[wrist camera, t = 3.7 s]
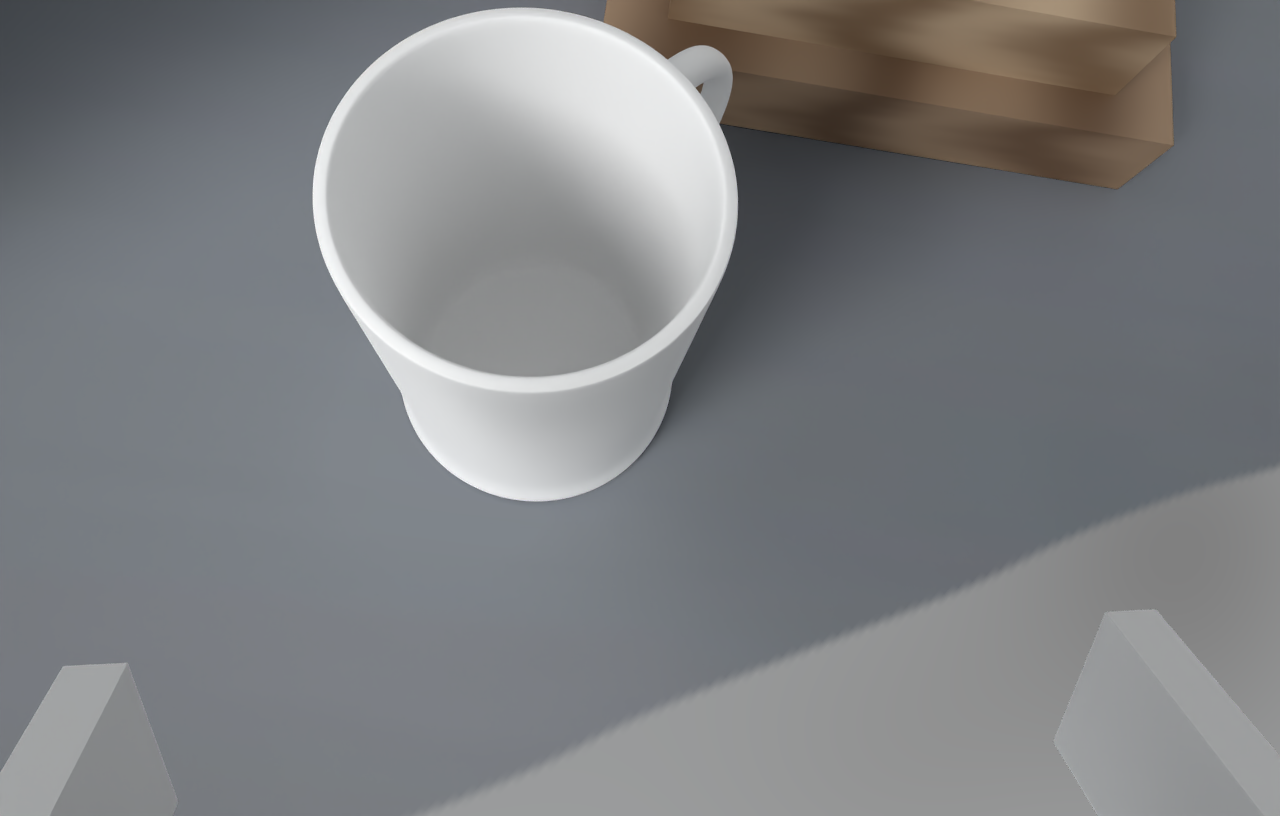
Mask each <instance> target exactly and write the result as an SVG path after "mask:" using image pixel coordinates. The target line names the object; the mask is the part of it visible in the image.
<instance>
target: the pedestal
mask: <svg viewBox="0 0 1280 816" xmlns="http://www.w3.org/2000/svg"><path fill="white" fill-rule="evenodd" d="M604 23H606V24H608V25H611V26H613V27H616V28H618V29H620V30H622V31H624V32H626V33H628V34H630V35H632V36H634V37H635V38H637V39H639V40H641V41H642V42H644V43H645V44H647V45H648V46H650V47H651V48H653V49H654V50H656V51H657V52H658V53H660V54H661V55H662V56H664V57H665V58H666V59H667V60H668V59H669V58H671V57H672V56H674V55H676V54H677V53H679V52H681V51H683V50H685V49H688V48H690V47H693V46H699V45H705V46H710V47H713V48H715V49H716V50H718V51H719V52H721V53H722V54H723V55H724V56H725V57H726V58H727V60H728V61H729V63H730V66H731V69H732V74H733V82H732V89H731V94H730V97H729V101H728V104H727V106H726V109H725V112H724V114H723V116H722V119H721V121H720V123H719V124H725V125H732V126H738V127H744V128H750V129H756V130H762V131H768V132H774V133H780V134H786V135H792V136H798V137H804V138H810V139H816V140H822V141H828V142H834V143H840V144H847V145H853V146H859V147H865V148H871V149H877V150H883V151H889V152H895V153H901V154H907V155H913V156H919V157H925V158H931V159H937V160H943V161H949V162H956V163H962V164H968V165H974V166H980V167H986V168H992V169H998V170H1004V171H1010V172H1016V173H1022V174H1028V175H1034V176H1040V177H1046V178H1052V179H1058V180H1064V181H1071V182H1077V183H1083V184H1089V185H1095V186H1101V187H1107V188H1113V189H1119V188H1120V187H1121V186H1122V185H1124V184H1125V183H1126V182H1128V181H1129V180H1130V179H1131V178H1133V177H1134V176H1135V175H1137V174H1138V173H1139V172H1140V171H1142V170H1143V169H1144V168H1145V167H1147V166H1148V165H1149V164H1151V163H1152V162H1153V161H1154V160H1156V159H1157V158H1158V157H1159V156H1161V155H1162V154H1163V153H1165V152H1166V151H1167V150H1168V149H1170V148H1171V147H1172V146H1174V137H1173V109H1172V80H1171V52H1170V43H1171V42H1172V41H1173V40H1174V39H1175V38H1176V14H1175V0H607V4H606V10H605V16H604ZM702 87H703V83H702V84H700V85H699V86H697V87H696V89H697V90H698V92H699V93H700V94H701V91H702Z"/></svg>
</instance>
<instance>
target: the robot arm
mask: <svg viewBox="0 0 1280 816" xmlns="http://www.w3.org/2000/svg"><path fill="white" fill-rule="evenodd" d="M1053 743H1054V744H1055V746H1056V748H1057V749H1058V751H1059V752H1060V754H1061V756H1062V758H1063V759H1064V761H1065V763H1066V764H1067V766H1068V768H1069V769H1070V771H1071V773H1072V774H1073V776H1074V778H1075V779H1076V781H1077V783H1078V784H1079V786H1080V788H1081V789H1082V791H1083V793H1084V794H1085V796H1086V798H1087V799H1088V801H1089V802H1090V804H1091V806H1092V808H1093V809H1094V811H1095V813H1096V814H1097V816H1280V755H1279V754H1278V753H1277V751H1276V750H1275V749H1274V748H1273V747H1272V746H1271V745H1270V743H1269V742H1268V741H1267V740H1266V738H1265V737H1264V736H1263V735H1262V734H1261V733H1260V731H1259V730H1258V729H1257V728H1256V727H1255V725H1254V724H1253V723H1252V722H1251V721H1250V720H1249V718H1248V717H1247V716H1246V715H1245V714H1244V712H1243V711H1242V710H1241V709H1240V708H1239V707H1238V705H1237V704H1236V703H1235V702H1234V701H1233V699H1232V698H1231V697H1230V696H1229V695H1228V694H1227V692H1226V691H1225V690H1224V689H1223V688H1222V687H1221V685H1220V684H1219V683H1218V682H1217V681H1216V679H1215V678H1214V677H1213V676H1212V675H1211V674H1210V672H1209V671H1208V670H1207V669H1206V668H1205V666H1204V665H1203V664H1202V663H1201V662H1200V661H1199V659H1198V658H1197V657H1196V656H1195V655H1194V653H1193V652H1192V651H1191V650H1190V649H1189V648H1188V646H1187V645H1186V644H1185V643H1184V642H1183V641H1182V640H1181V638H1180V637H1179V636H1178V635H1177V634H1176V632H1175V631H1174V630H1173V629H1172V628H1171V626H1170V625H1169V624H1168V623H1167V622H1166V621H1165V619H1164V618H1163V617H1162V616H1161V615H1160V613H1159V612H1158V611H1157V610H1156V609H1149V610H1131V611H1111V612H1105V614H1104V617H1103V619H1102V622H1101V624H1100V626H1099V629H1098V632H1097V634H1096V636H1095V639H1094V641H1093V644H1092V646H1091V649H1090V651H1089V654H1088V656H1087V659H1086V661H1085V664H1084V666H1083V669H1082V671H1081V674H1080V676H1079V679H1078V681H1077V684H1076V686H1075V688H1074V691H1073V693H1072V696H1071V698H1070V701H1069V703H1068V706H1067V708H1066V711H1065V714H1064V716H1063V718H1062V721H1061V723H1060V726H1059V728H1058V731H1057V733H1056V736H1055V738H1054V741H1053ZM177 803H178V799H177V797H176V794H175V791H174V788H173V786H172V783H171V780H170V777H169V775H168V772H167V769H166V767H165V764H164V761H163V758H162V756H161V753H160V750H159V747H158V745H157V742H156V739H155V736H154V734H153V731H152V728H151V725H150V723H149V720H148V717H147V714H146V712H145V709H144V706H143V704H142V701H141V698H140V695H139V693H138V690H137V687H136V684H135V682H134V679H133V676H132V673H131V671H130V668H129V665H128V663H114V664H95V665H76V666H63V667H62V669H61V671H60V672H59V674H58V676H57V677H56V679H55V681H54V682H53V684H52V686H51V687H50V689H49V691H48V693H47V694H46V696H45V698H44V699H43V701H42V703H41V704H40V706H39V708H38V709H37V711H36V713H35V715H34V716H33V718H32V720H31V721H30V723H29V725H28V726H27V728H26V730H25V731H24V733H23V735H22V737H21V738H20V740H19V742H18V743H17V745H16V747H15V748H14V750H13V752H12V754H11V755H10V757H9V759H8V760H7V762H6V764H5V765H4V767H3V769H2V770H1V772H0V816H173V814H174V811H175V809H176V806H177Z"/></svg>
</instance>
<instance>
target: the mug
mask: <svg viewBox="0 0 1280 816" xmlns="http://www.w3.org/2000/svg"><path fill="white" fill-rule="evenodd" d="M732 82H733V74H732V69H731V66H730V63H729V61H728V60H727V58H726V57H725V56H724V55H723V54H722V53H721V52H719V51H718V50H716V49H715V48H713V47H710V46H705V45H699V46H693V47H690V48H688V49H685V50H683V51H681V52H679V53H677V54H676V55H674V56H672V57H671V58H669V59H668V60H667V59H666V58H665V57H664V56H662V55H661V54H660V53H658V52H657V51H656V50H654V49H653V48H651V47H650V46H648V45H647V44H645V43H644V42H642V41H641V40H639V39H637V38H635V37H634V36H632V35H630V34H628V33H626V32H624V31H622V30H620V29H618V28H616V27H613V26H611V25H608V24H606V23H603V22H601V21H598V20H595V19H592V18H588V17H585V16H581V15H578V14H573V13H569V12H564V11H558V10H551V9H541V8H501V9H492V10H485V11H479V12H474V13H469V14H465V15H461V16H458V17H454V18H451V19H448V20H445V21H442V22H440V23H437V24H434V25H432V26H430V27H428V28H425V29H423V30H421V31H419V32H417V33H415V34H413V35H412V36H410V37H408V38H406V39H405V40H403V41H401V42H400V43H398V44H397V45H395V46H394V47H393V48H391V49H390V50H388V51H387V52H386V53H384V54H383V55H382V56H381V57H379V58H378V59H377V60H376V61H375V62H374V63H373V64H372V65H371V66H369V67H368V68H367V69H366V70H365V71H364V72H363V74H362V75H361V76H360V77H359V78H358V79H357V80H356V81H355V83H354V84H353V85H352V86H351V88H350V89H349V90H348V92H347V93H346V94H345V96H344V97H343V99H342V100H341V102H340V103H339V105H338V107H337V108H336V110H335V112H334V114H333V116H332V118H331V120H330V122H329V124H328V126H327V129H326V131H325V134H324V136H323V139H322V142H321V145H320V148H319V152H318V156H317V160H316V166H315V172H314V180H313V213H314V221H315V228H316V233H317V237H318V241H319V245H320V249H321V252H322V255H323V258H324V260H325V263H326V265H327V268H328V270H329V272H330V275H331V277H332V279H333V281H334V283H335V285H336V286H337V288H338V290H339V292H340V294H341V295H342V297H343V299H344V300H345V302H346V304H347V305H348V307H349V309H350V310H351V312H352V313H353V315H354V317H355V318H356V320H357V322H358V323H359V325H360V326H361V328H362V330H363V331H364V333H365V335H366V336H367V338H368V339H369V341H370V343H371V344H372V346H373V347H374V349H375V351H376V352H377V354H378V356H379V357H380V359H381V360H382V362H383V364H384V365H385V367H386V369H387V370H388V372H389V373H390V375H391V377H392V378H393V380H394V382H395V383H396V385H397V386H398V388H399V390H400V391H401V393H402V396H403V400H404V404H405V408H406V411H407V414H408V416H409V419H410V421H411V423H412V425H413V427H414V429H415V431H416V433H417V435H418V436H419V438H420V440H421V441H422V443H423V444H424V445H425V447H426V448H427V449H428V451H429V452H430V453H431V454H432V455H433V456H434V458H435V459H436V460H437V461H438V462H439V463H440V464H441V465H443V466H444V467H445V468H446V469H447V470H448V471H450V472H451V473H452V474H454V475H455V476H456V477H458V478H459V479H461V480H463V481H464V482H466V483H468V484H469V485H471V486H473V487H475V488H478V489H480V490H482V491H485V492H487V493H490V494H493V495H496V496H500V497H504V498H508V499H514V500H521V501H552V500H559V499H565V498H569V497H573V496H577V495H580V494H583V493H586V492H588V491H591V490H593V489H595V488H597V487H599V486H601V485H603V484H605V483H607V482H609V481H610V480H612V479H613V478H615V477H616V476H618V475H619V474H620V473H622V472H623V471H624V470H626V469H627V468H628V467H629V466H630V465H631V464H632V463H633V462H634V461H635V460H636V459H637V458H638V457H639V456H640V455H641V454H642V453H643V451H644V450H645V449H646V448H647V446H648V445H649V444H650V442H651V441H652V439H653V437H654V436H655V434H656V432H657V431H658V429H659V427H660V425H661V422H662V420H663V418H664V415H665V412H666V409H667V406H668V402H669V398H670V393H671V387H672V382H673V380H674V377H675V375H676V373H677V371H678V369H679V367H680V365H681V363H682V361H683V359H684V357H685V355H686V353H687V351H688V349H689V347H690V344H691V342H692V340H693V338H694V336H695V334H696V332H697V330H698V328H699V326H700V324H701V322H702V320H703V318H704V316H705V314H706V311H707V309H708V307H709V305H710V303H711V301H712V299H713V297H714V295H715V293H716V291H717V289H718V287H719V284H720V282H721V280H722V278H723V275H724V273H725V270H726V268H727V265H728V262H729V259H730V256H731V252H732V248H733V244H734V240H735V234H736V227H737V218H738V191H737V181H736V174H735V169H734V165H733V160H732V157H731V153H730V150H729V147H728V144H727V142H726V139H725V136H724V134H723V132H722V130H721V127H720V125H719V123H720V121H721V119H722V116H723V114H724V112H725V109H726V106H727V104H728V101H729V97H730V94H731V89H732ZM702 83H703V87H702V91H701V94H700V93H699V92H698V90H697V89H696V87H697V86H699V85H700V84H702Z"/></svg>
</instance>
